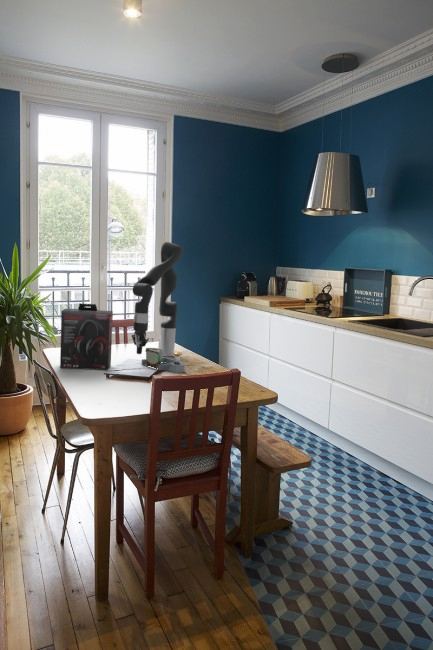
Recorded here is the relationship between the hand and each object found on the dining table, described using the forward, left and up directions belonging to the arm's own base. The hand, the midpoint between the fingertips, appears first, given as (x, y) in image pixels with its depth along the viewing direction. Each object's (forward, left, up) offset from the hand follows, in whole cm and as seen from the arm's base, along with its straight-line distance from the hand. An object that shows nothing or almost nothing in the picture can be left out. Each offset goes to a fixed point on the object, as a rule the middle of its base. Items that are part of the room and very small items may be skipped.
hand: (139, 353), depth 267 cm
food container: (+1, +10, -8) cm, 13 cm away
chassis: (+5, +16, -8) cm, 18 cm away
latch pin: (+14, +15, -4) cm, 21 cm away
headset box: (-15, -23, -8) cm, 28 cm away
